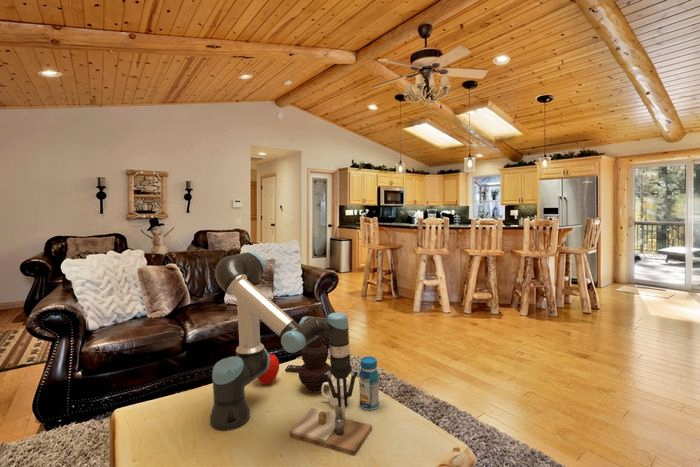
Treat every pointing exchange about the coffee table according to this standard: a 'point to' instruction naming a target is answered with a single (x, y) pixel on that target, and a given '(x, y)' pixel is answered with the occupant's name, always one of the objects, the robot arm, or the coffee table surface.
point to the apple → (270, 371)
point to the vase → (314, 365)
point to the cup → (334, 400)
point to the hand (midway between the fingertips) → (343, 413)
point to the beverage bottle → (369, 384)
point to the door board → (330, 431)
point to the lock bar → (339, 421)
